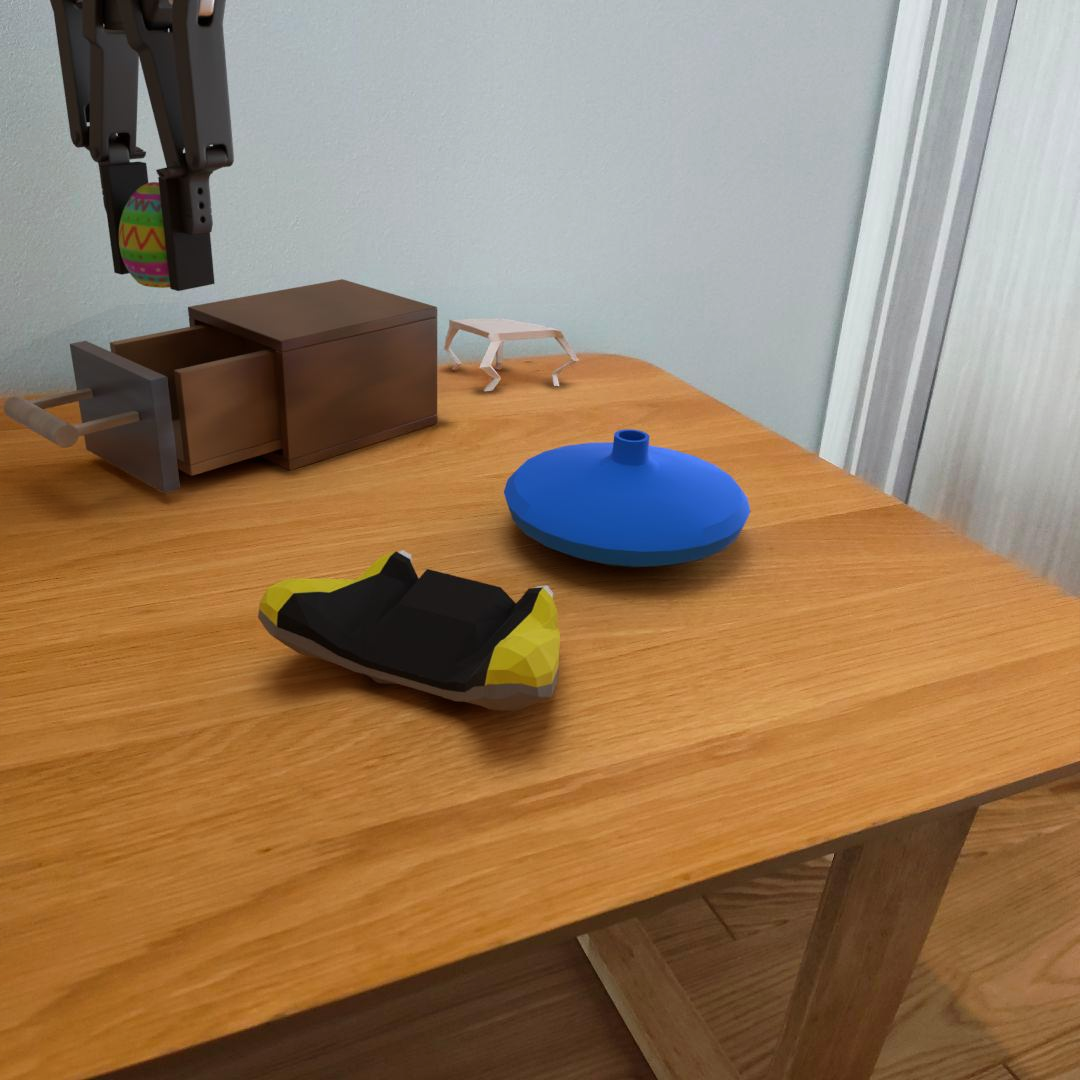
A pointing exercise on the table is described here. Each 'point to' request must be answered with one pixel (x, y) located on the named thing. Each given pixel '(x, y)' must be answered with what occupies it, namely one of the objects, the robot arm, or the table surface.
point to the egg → (144, 237)
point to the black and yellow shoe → (424, 632)
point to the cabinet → (339, 363)
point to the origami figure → (501, 332)
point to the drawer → (167, 403)
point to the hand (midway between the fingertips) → (163, 277)
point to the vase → (626, 502)
